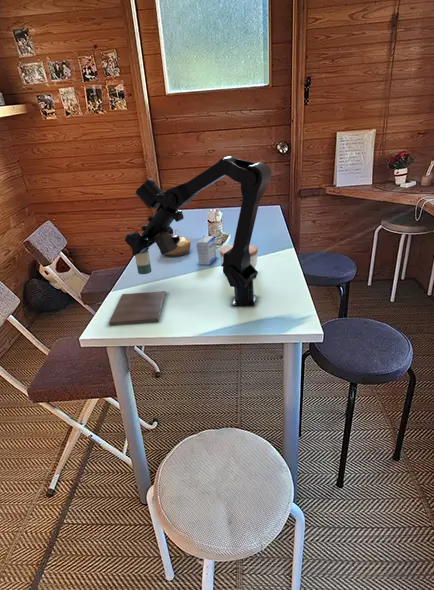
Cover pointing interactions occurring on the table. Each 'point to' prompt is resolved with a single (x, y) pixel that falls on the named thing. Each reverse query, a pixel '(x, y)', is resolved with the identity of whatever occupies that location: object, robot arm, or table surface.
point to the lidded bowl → (252, 250)
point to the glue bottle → (143, 262)
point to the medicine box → (206, 250)
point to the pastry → (180, 247)
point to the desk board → (138, 308)
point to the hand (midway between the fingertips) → (138, 252)
